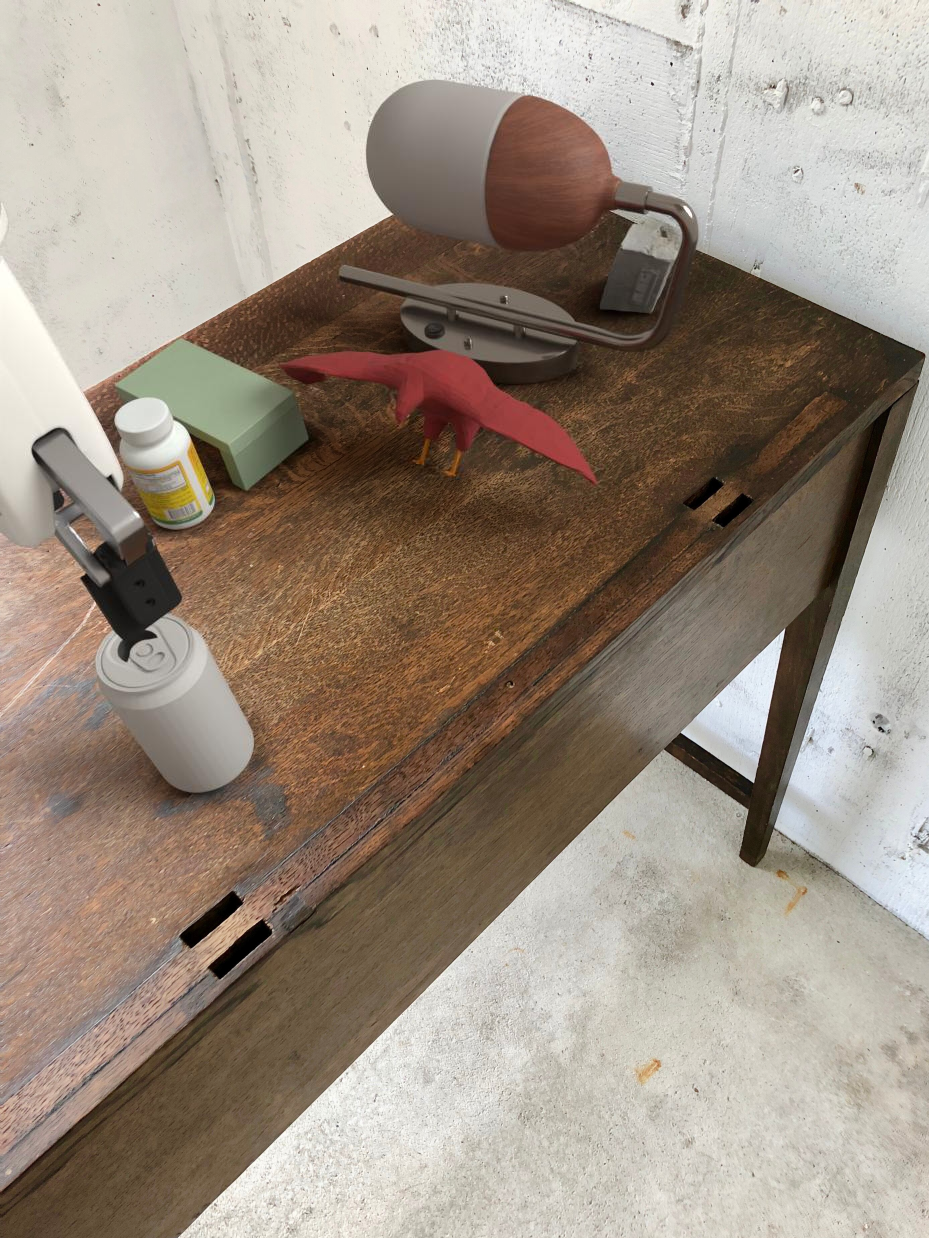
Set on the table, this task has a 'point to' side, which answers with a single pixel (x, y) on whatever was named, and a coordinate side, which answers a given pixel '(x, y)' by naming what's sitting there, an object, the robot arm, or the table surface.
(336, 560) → the table surface
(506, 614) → the table surface
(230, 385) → the shelf
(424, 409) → the decorative bird sculpture
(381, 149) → the light fixture
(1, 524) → the robot arm
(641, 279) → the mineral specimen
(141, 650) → the beverage can
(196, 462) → the supplement bottle
